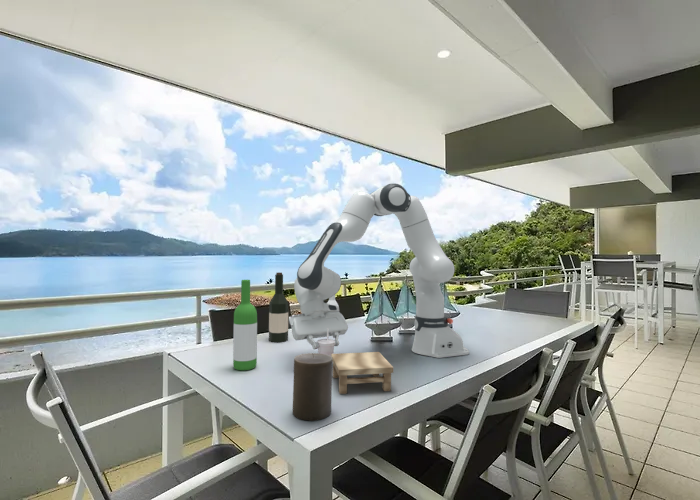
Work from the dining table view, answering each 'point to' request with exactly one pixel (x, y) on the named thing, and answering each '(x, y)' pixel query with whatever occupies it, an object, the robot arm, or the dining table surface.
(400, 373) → the dining table surface
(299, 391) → the pillar candle
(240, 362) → the wine bottle
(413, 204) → the robot arm
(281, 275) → the wine bottle
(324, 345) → the smoothie
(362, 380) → the footstool
